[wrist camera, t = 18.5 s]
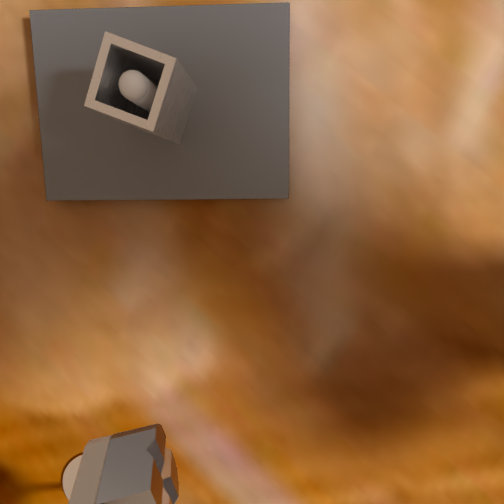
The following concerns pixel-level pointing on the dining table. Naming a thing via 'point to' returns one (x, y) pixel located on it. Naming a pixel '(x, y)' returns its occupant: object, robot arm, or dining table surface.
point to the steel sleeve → (150, 65)
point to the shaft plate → (215, 120)
